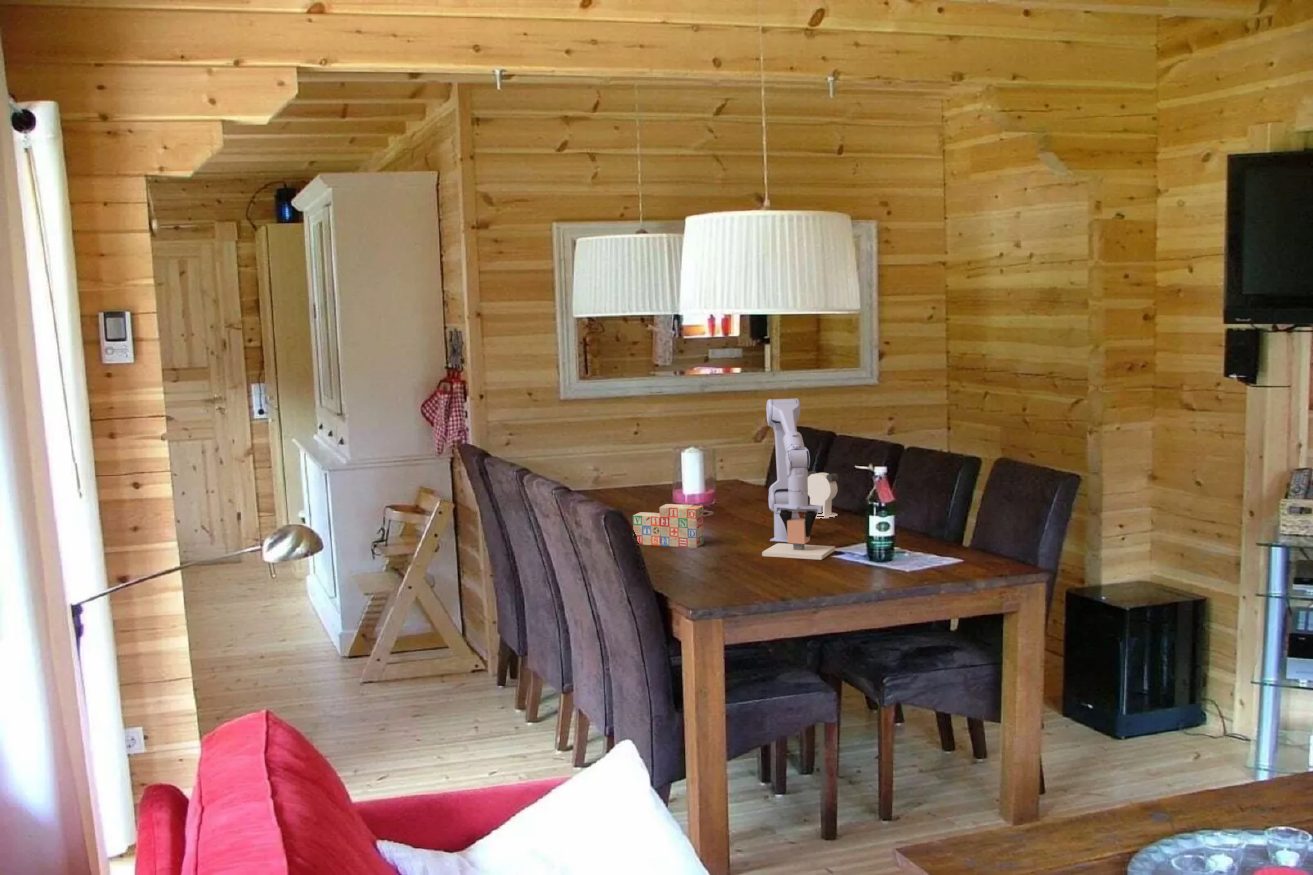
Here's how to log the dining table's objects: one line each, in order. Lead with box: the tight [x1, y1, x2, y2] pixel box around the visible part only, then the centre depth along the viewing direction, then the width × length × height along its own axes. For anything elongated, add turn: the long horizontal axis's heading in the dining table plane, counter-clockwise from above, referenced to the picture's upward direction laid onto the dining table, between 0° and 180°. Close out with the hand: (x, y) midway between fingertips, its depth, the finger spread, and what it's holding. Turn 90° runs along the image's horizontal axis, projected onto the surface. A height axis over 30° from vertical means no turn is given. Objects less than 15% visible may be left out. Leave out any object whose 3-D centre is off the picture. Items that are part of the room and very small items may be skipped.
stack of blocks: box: [632, 503, 704, 549], centre depth 391 cm, size 21×6×12 cm, turn 68°
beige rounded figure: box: [804, 470, 839, 519], centre depth 434 cm, size 12×11×15 cm
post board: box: [761, 542, 836, 561], centre depth 372 cm, size 14×18×7 cm
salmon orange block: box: [787, 517, 811, 545], centre depth 372 cm, size 5×5×7 cm
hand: (798, 535), depth 372 cm, fingers closed on salmon orange block, 5 cm apart
